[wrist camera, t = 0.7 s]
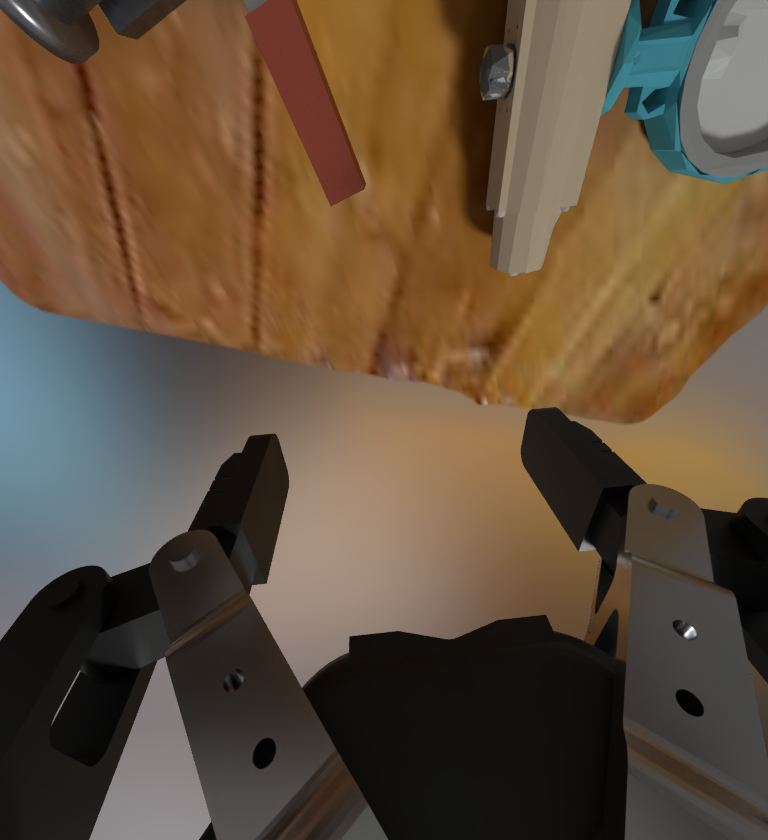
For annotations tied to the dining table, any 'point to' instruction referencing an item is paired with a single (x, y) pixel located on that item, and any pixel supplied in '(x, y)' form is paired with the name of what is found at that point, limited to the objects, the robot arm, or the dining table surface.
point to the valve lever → (306, 94)
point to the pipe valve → (83, 22)
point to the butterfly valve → (598, 90)
